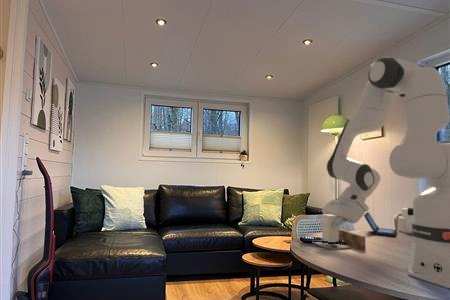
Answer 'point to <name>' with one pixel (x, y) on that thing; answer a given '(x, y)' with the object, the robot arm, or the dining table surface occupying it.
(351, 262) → the dining table surface
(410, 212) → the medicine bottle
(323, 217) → the block
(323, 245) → the grey flat board
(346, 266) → the dining table surface
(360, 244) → the door edge
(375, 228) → the handheld game console
